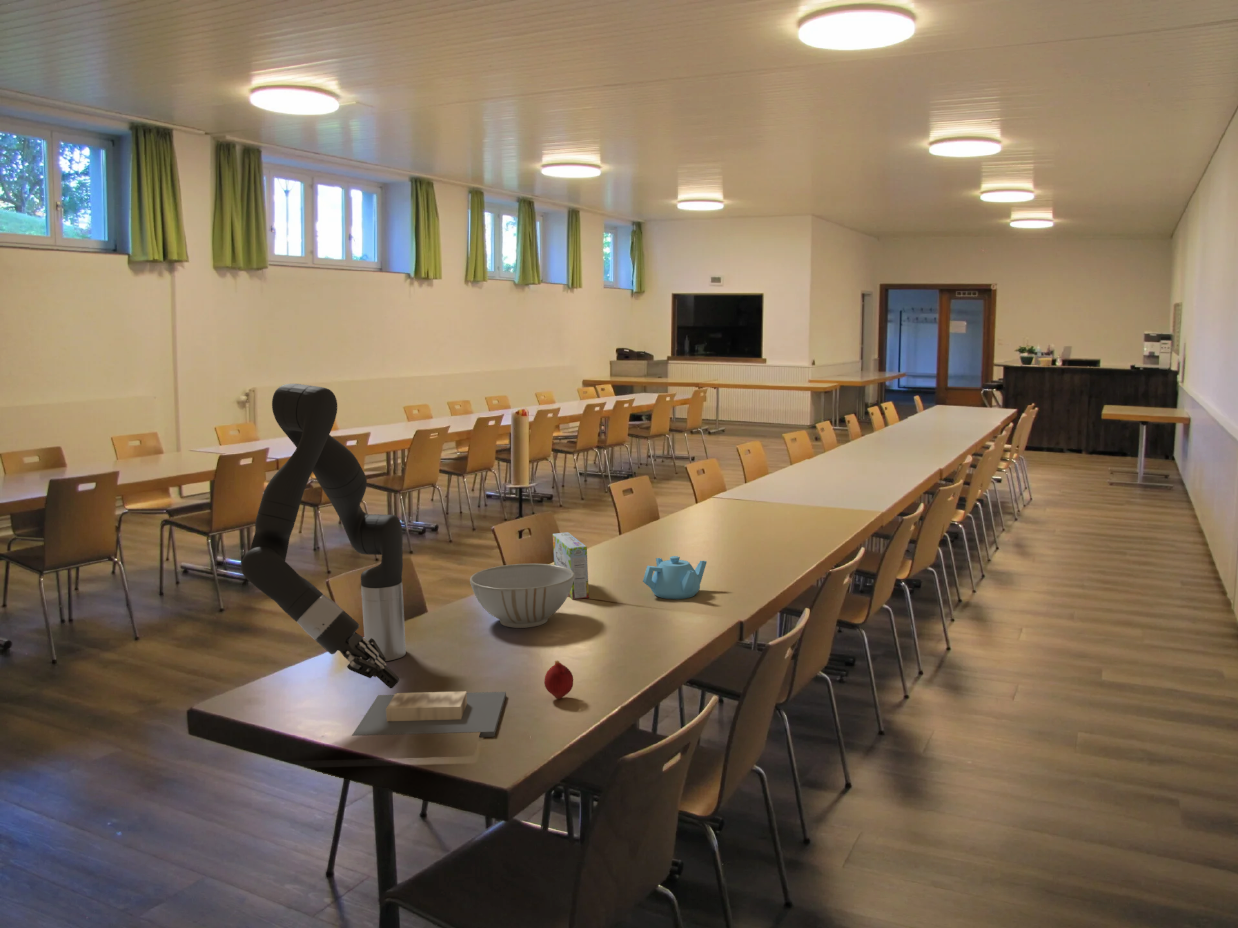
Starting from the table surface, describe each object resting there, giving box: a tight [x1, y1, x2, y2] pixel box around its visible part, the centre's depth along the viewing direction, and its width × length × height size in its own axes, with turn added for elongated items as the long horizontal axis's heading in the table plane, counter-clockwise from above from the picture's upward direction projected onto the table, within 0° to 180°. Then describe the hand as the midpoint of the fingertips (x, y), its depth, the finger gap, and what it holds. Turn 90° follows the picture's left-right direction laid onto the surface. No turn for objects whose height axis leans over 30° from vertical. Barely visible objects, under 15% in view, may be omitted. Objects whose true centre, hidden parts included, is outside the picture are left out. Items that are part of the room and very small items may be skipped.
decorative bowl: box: [469, 563, 575, 629], centre depth 247 cm, size 27×27×12 cm
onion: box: [543, 659, 574, 700], centre depth 192 cm, size 6×6×8 cm
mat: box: [351, 691, 507, 738], centre depth 185 cm, size 20×26×1 cm
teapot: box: [642, 555, 708, 600], centre depth 270 cm, size 15×15×11 cm
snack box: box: [552, 531, 590, 601], centre depth 276 cm, size 21×6×15 cm, turn 17°
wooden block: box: [386, 690, 468, 721], centre depth 184 cm, size 8×3×14 cm
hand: (395, 683), depth 184 cm, fingers closed
